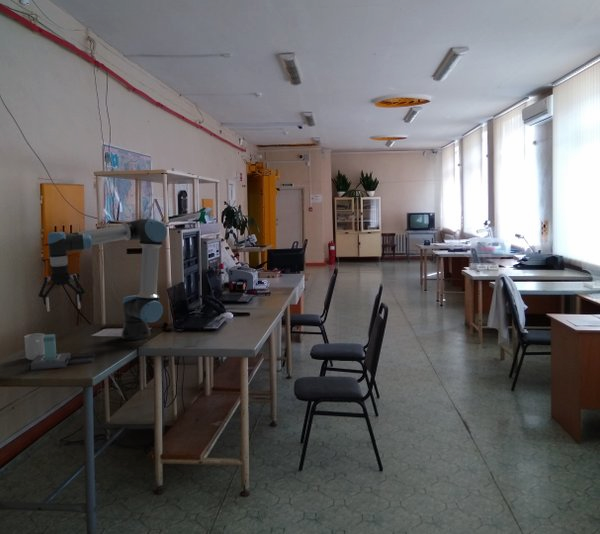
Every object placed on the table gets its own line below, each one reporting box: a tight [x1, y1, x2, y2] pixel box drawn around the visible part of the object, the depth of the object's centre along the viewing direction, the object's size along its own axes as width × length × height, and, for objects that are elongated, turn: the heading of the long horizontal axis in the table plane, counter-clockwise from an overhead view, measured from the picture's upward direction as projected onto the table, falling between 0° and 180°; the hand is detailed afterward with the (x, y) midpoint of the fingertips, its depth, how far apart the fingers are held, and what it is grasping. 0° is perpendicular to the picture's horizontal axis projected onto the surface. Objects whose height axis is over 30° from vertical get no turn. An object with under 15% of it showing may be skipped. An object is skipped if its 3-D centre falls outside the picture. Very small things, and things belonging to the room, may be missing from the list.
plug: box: [43, 333, 57, 360], centre depth 249 cm, size 4×4×14 cm
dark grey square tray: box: [68, 353, 96, 365], centre depth 255 cm, size 10×10×2 cm
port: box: [30, 352, 71, 371], centre depth 250 cm, size 14×14×4 cm
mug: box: [23, 332, 46, 361], centre depth 261 cm, size 12×9×11 cm
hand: (64, 309), depth 259 cm, fingers open, 13 cm apart
